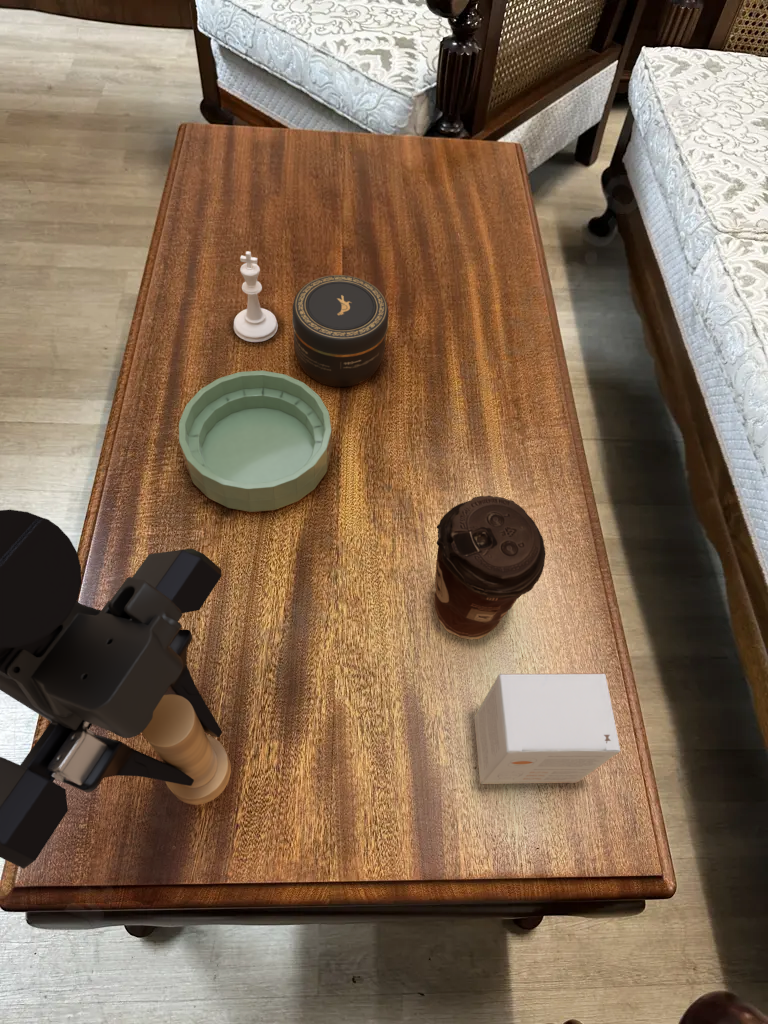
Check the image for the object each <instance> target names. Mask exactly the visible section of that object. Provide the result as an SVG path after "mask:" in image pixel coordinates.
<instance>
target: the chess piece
mask: <svg viewBox="0 0 768 1024" xmlns="http://www.w3.org/2000/svg"><path fill="white" fill-rule="evenodd" d="M239 259H240V262H242V263H243V264H242V265H241V266H240V268H239V271H240V274H241V275H242V278H243V279H244V281H243V283H242V284H241V290H242V292H243V293H244V294H246V295H247V302H246V303H247V304H246V305H247V307H246V308H245V309H243V310H241V311H239V312H238V313H237V315H236V316H235V317H234V319H233V331H234V334H236V336H237V337H238V338H240V339H242V340H243V341H245V342H251V343H262V342H265V341H268V340H270V339H271V338H273V337H274V336H275V335H276V333H277V332H278V329H279V324H278V321H277V317H276V316H275V314H274V313H273V312H272V311H270V310H269V309H266V308H263V307H261V303H260V300H259V295H258V294H260V293H261V292H262V290H263V285H262V284H261V282H260V281H259V280H258V277H259V275H260V272H261V268H260V266H259V265H258V262H259V259H258V257H254V256H252V252H251V251H249V250H246V251H245V255H242V254H241V255H240V257H239Z"/></svg>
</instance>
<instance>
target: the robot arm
mask: <svg viewBox="0 0 768 1024" xmlns="http://www.w3.org/2000/svg"><path fill="white" fill-rule="evenodd" d="M222 571H223V570H222V568H220V567H219V566H218V565H217V564H216V563H215V562H213V561H212V559H210V557H208V556H207V555H206V554H204V553H202V552H201V551H199V550H197V549H194V548H185V549H177V550H170V551H163V552H155V553H148V555H147V557H146V558H145V559H144V561H143V562H142V563H141V565H140V566H139V567H138V568H137V570H136V572H134V574H133V575H132V576H129V577H126V579H125V580H124V582H123V583H122V584H121V586H119V588H118V590H117V591H116V592H115V594H114V595H113V597H111V599H110V600H108V601H107V602H106V603H105V605H103V607H102V609H98V608H94V607H92V606H88V605H85V604H82V603H81V602H79V601H78V599H79V595H80V590H81V586H82V566H81V562H80V558H79V554H78V552H77V549H76V548H75V546H74V544H73V541H71V539H70V537H69V536H68V535H67V534H66V533H65V532H64V531H63V530H62V529H61V528H60V527H59V526H58V525H57V524H55V523H54V522H52V520H50V519H49V518H46V517H45V518H44V517H42V516H39V515H36V514H34V513H32V512H29V511H24V510H16V509H0V691H1V692H2V693H4V694H5V695H7V696H8V697H11V699H14V700H15V701H17V702H19V703H20V704H21V705H23V706H25V707H27V708H28V709H30V710H31V711H33V712H34V713H36V714H38V715H39V716H41V717H42V718H44V719H46V720H47V721H49V724H48V725H47V727H46V728H45V730H43V733H42V734H41V735H40V737H38V739H37V741H36V742H35V744H34V745H33V746H32V748H31V749H30V750H29V752H28V753H27V755H26V756H25V757H24V759H23V760H22V762H21V763H20V764H18V763H17V762H14V761H12V760H10V759H7V758H5V757H3V756H0V859H2V860H5V861H7V862H9V863H11V864H13V865H15V866H17V867H19V868H21V869H23V870H24V869H26V868H27V867H28V866H30V865H31V864H33V863H34V862H35V861H36V860H37V858H38V857H39V856H40V854H41V852H42V851H43V849H44V848H45V847H46V845H47V843H48V842H49V840H50V839H51V838H52V836H53V834H54V832H55V831H56V829H57V828H58V826H59V825H60V823H61V822H62V821H63V819H64V817H65V816H66V814H67V813H68V811H69V807H68V798H67V792H66V791H67V790H66V788H65V787H63V786H61V785H60V784H57V783H55V782H54V781H58V782H59V783H63V784H64V785H68V786H70V787H73V788H75V789H77V790H80V792H81V791H82V792H84V793H87V794H88V793H92V792H93V791H95V790H96V789H97V788H98V787H99V785H100V784H101V782H102V781H103V780H104V779H106V778H110V777H118V776H120V777H140V778H146V779H151V780H157V781H162V782H165V781H167V782H172V783H177V784H182V785H188V786H192V784H193V782H194V779H192V778H191V777H190V776H188V775H187V774H185V773H184V772H182V771H181V770H179V769H177V768H175V767H173V766H170V765H168V764H166V763H164V762H163V761H162V760H159V759H157V758H155V757H152V756H150V755H148V754H146V753H144V752H141V751H140V750H137V749H135V748H132V747H131V746H129V745H127V744H126V743H124V742H122V741H120V740H116V739H113V738H110V737H107V736H103V735H100V734H96V733H95V732H94V731H92V730H90V728H91V727H92V725H93V726H96V727H98V728H100V729H102V730H105V731H108V732H110V733H112V734H114V735H116V736H118V737H121V738H124V739H133V738H135V737H137V736H139V735H141V734H142V731H144V729H145V728H146V727H147V726H148V724H149V723H150V721H151V720H152V717H153V712H154V710H155V708H156V707H157V705H158V703H159V702H160V700H161V699H162V697H163V696H164V695H169V694H174V695H179V696H182V697H184V698H185V699H187V700H188V701H189V702H190V703H191V705H192V707H193V709H194V711H195V713H196V715H197V717H198V719H199V721H200V723H201V725H202V727H203V729H204V731H205V733H206V734H207V735H209V736H211V737H214V738H220V737H221V735H222V734H223V730H222V728H221V727H220V724H219V723H218V721H217V720H216V718H215V717H214V715H213V714H212V712H211V710H210V708H209V706H208V705H207V703H206V701H205V700H204V698H203V696H202V695H201V693H200V691H199V690H198V688H197V685H196V684H195V682H194V680H193V677H192V674H191V672H190V670H189V667H188V648H189V646H190V644H191V643H192V642H193V633H192V632H191V630H190V629H184V628H183V627H182V626H183V625H182V624H181V623H180V622H179V621H180V619H181V618H182V616H183V614H186V613H192V612H197V611H200V610H201V609H202V607H203V605H204V604H205V602H206V601H207V599H208V598H209V596H210V595H211V593H212V592H213V590H214V588H215V587H216V586H217V584H218V583H219V581H220V580H221V578H222V574H223V573H222ZM182 628H183V629H182Z"/></svg>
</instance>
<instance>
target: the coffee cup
mask: <svg viewBox="0 0 768 1024" xmlns="http://www.w3.org/2000/svg"><path fill="white" fill-rule="evenodd" d="M436 529H437V540H436V545H437V546H438V547H437V554H436V564H435V568H436V569H435V578H434V589H435V591H434V594H433V595H434V599H433V600H434V601H433V603H434V604H433V605H434V610H435V614H436V617H437V620H438V621H439V623H441V625H442V626H443V628H444V630H445V631H446V632H447V633H449V634H451V635H455V636H457V637H459V638H460V639H468V640H478V639H482V638H484V637H486V636H487V635H489V634H490V633H491V632H493V631H494V629H496V628H497V627H498V625H499V624H500V622H501V621H502V620H503V619H504V617H506V615H507V614H508V612H509V611H510V610H511V609H512V608H513V606H514V604H515V603H516V602H517V600H518V599H519V598H521V596H523V595H526V594H527V593H529V592H530V591H531V590H533V588H534V587H535V585H536V584H537V583H538V582H539V580H540V578H541V576H542V574H543V572H544V568H545V561H546V547H545V541H544V538H543V535H542V534H541V531H540V529H539V528H538V526H537V525H536V523H535V521H534V520H533V518H532V517H531V516H530V515H529V514H528V513H527V512H526V510H525V509H524V508H523V507H522V506H520V505H519V504H518V503H516V502H515V501H514V500H511V499H508V498H506V497H502V496H494V495H493V496H492V495H480V496H474V497H472V498H471V500H467V501H465V502H464V501H463V502H461V503H458V504H457V505H455V506H453V507H452V508H450V510H448V511H447V512H446V513H445V514H444V515H443V517H442V518H441V519H440V520H439V524H437V526H436Z"/></svg>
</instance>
